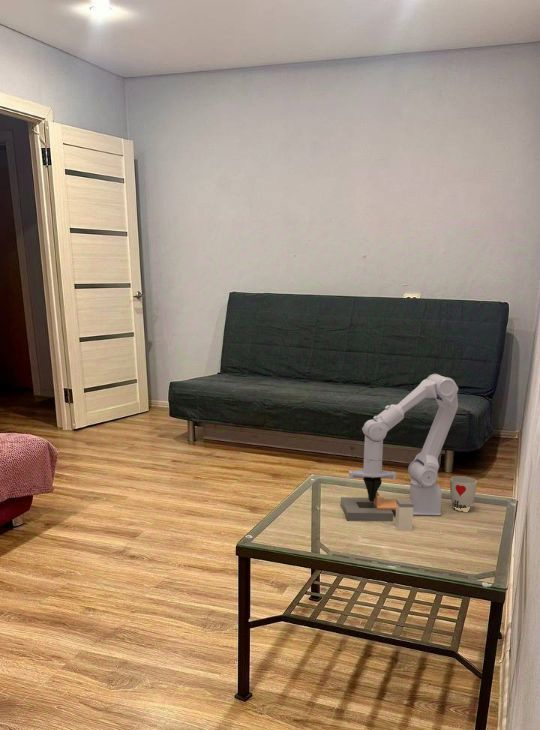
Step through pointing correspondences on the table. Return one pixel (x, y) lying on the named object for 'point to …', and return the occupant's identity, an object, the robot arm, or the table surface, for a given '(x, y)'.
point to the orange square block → (384, 503)
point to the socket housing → (364, 510)
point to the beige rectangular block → (404, 514)
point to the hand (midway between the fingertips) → (371, 500)
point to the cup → (462, 491)
